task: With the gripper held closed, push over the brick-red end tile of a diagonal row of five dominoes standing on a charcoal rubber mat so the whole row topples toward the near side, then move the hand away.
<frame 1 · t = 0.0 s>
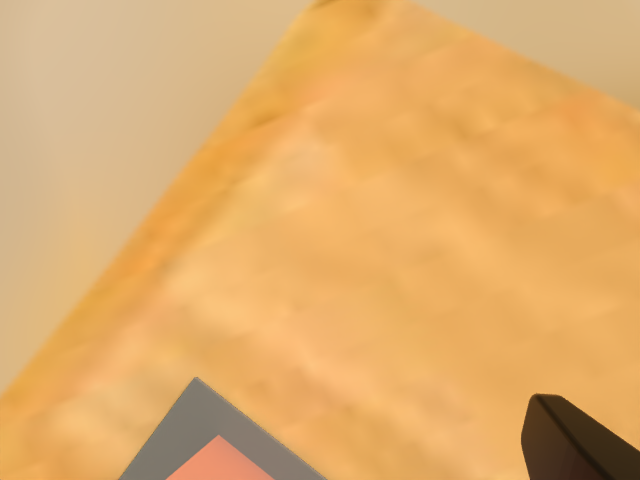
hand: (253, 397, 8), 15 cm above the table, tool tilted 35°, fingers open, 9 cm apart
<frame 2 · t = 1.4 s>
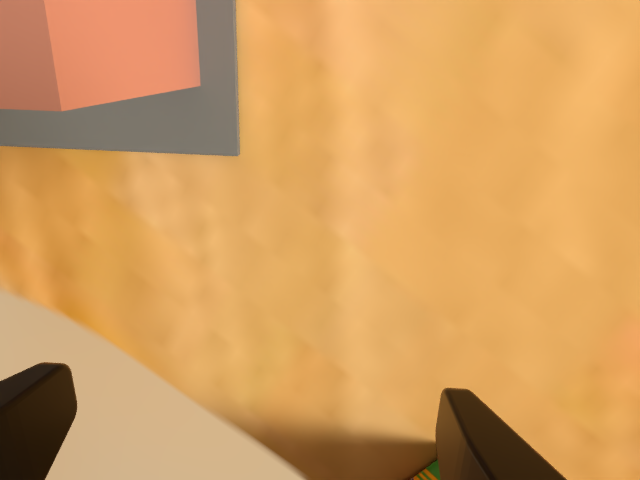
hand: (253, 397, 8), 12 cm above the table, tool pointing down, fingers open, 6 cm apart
domino 1: (173, 9, 16), resting on mat
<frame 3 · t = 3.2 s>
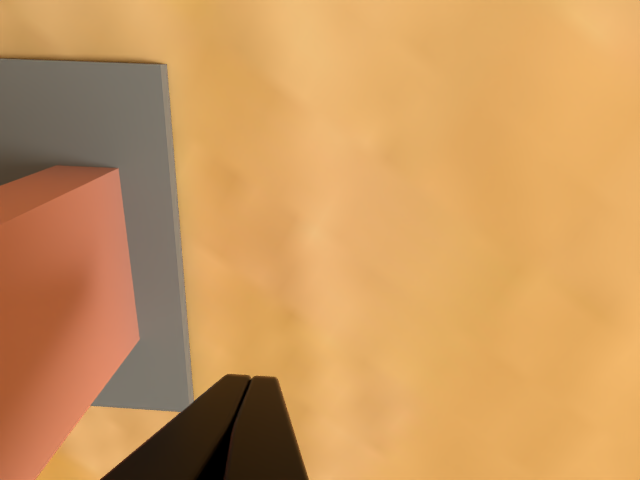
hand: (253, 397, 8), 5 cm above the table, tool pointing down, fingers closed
domino 1: (100, 258, 13), resting on mat
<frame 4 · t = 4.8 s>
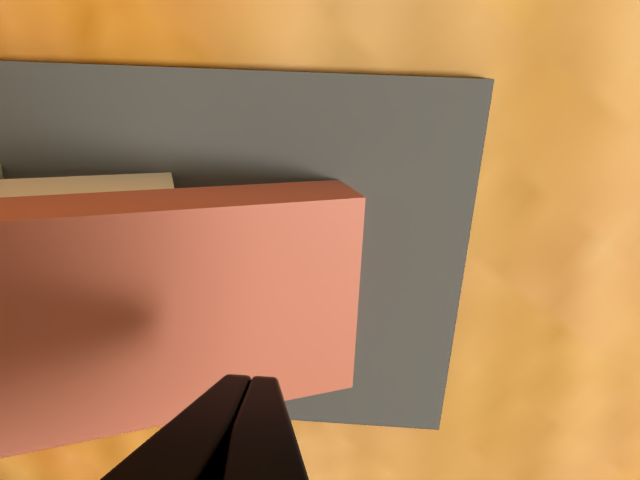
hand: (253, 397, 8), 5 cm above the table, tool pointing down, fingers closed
domino 2: (180, 276, 12), point 1 cm above the table, tilted 68°, touching domino 1, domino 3, mat
domino 1: (345, 285, 12), point 1 cm above the table, tilted 68°, touching domino 2
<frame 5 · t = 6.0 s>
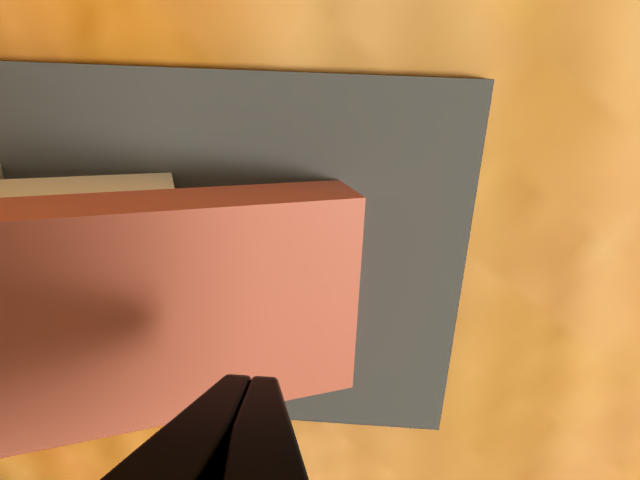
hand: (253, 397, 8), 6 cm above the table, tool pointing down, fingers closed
domino 2: (180, 276, 12), point 1 cm above the table, tilted 68°, touching domino 1, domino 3, mat
domino 1: (345, 285, 12), point 1 cm above the table, tilted 68°, touching domino 2
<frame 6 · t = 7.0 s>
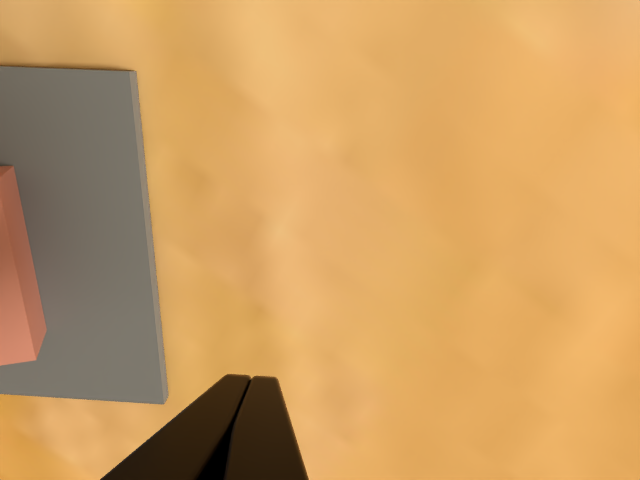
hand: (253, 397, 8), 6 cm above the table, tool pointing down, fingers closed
domino 1: (25, 264, 13), point 1 cm above the table, tilted 68°, touching domino 2
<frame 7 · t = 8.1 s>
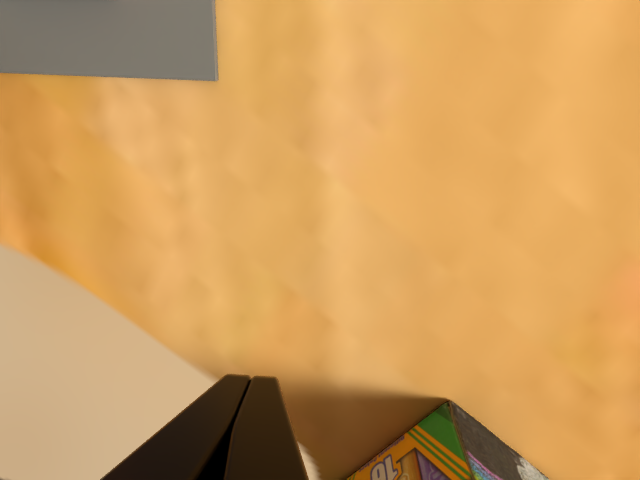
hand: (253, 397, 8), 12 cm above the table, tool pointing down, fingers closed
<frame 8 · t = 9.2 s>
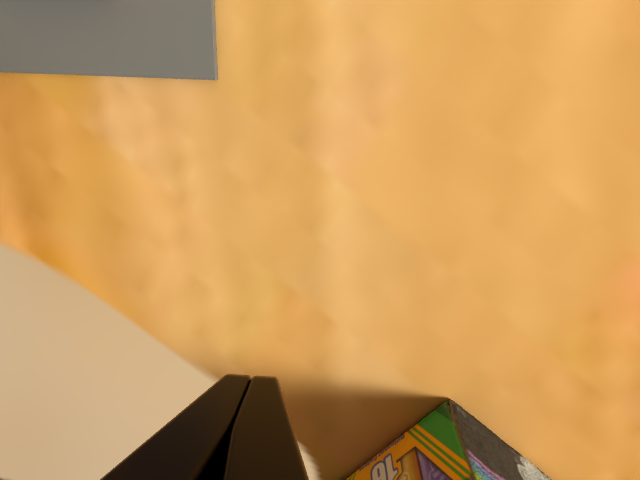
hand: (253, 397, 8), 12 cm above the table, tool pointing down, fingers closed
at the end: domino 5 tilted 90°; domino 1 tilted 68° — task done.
